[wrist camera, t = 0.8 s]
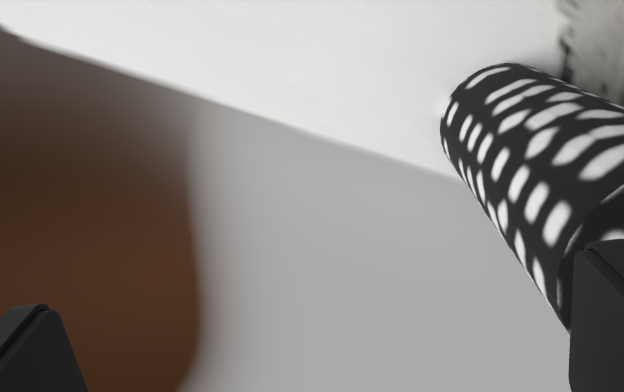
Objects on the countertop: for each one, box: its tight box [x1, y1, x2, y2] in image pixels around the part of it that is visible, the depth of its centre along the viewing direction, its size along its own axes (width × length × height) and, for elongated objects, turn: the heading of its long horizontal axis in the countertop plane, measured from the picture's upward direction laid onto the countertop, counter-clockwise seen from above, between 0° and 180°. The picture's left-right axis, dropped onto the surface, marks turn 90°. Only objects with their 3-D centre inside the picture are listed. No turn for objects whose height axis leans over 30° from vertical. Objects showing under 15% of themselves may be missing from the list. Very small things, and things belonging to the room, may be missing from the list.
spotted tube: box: [440, 63, 624, 334], centre depth 28 cm, size 8×8×20 cm
